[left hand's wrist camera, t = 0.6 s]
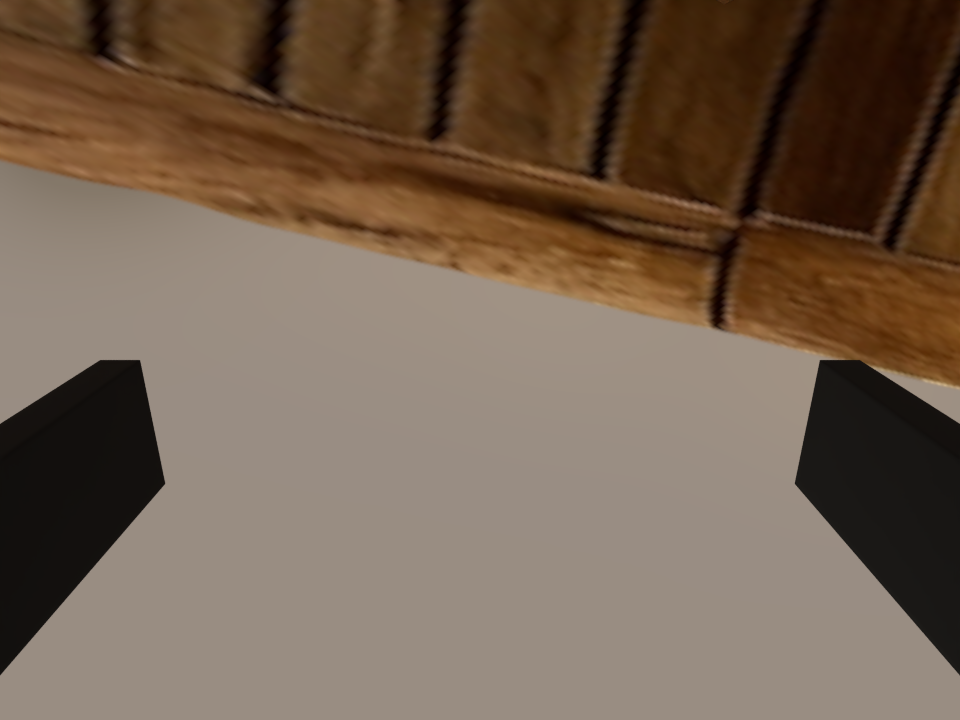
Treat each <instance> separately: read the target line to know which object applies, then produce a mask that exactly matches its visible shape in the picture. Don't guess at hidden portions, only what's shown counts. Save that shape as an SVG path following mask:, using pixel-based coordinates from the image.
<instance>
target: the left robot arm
mask: <svg viewBox="0 0 960 720" xmlns="http://www.w3.org/2000/svg"><path fill="white" fill-rule="evenodd" d="M164 485H165V480H164V476H163V470H162V466H161V461H160V456H159V451H158V446H157V441H156V436H155V431H154V426H153V422H152V417H151V412H150V407H149V402H148V397H147V392H146V387H145V382H144V377H143V372H142V368H141V363H140V360H100V361H98V362H97V363H95V364H94V365H92V366H90V367H89V368H87V369H86V370H84V371H83V372H81V373H79V374H78V375H76V376H75V377H73V378H72V379H70V380H68V381H67V382H65V383H64V384H62V385H61V386H59V387H57V388H56V389H54V390H53V391H51V392H50V393H48V394H46V395H45V396H43V397H42V398H40V399H39V400H37V401H35V402H34V403H32V404H31V405H29V406H28V407H26V408H24V409H23V410H21V411H20V412H18V413H17V414H15V415H13V416H12V417H10V418H9V419H7V420H6V421H4V422H2V423H1V424H0V675H1V674H2V673H3V671H4V670H5V669H6V668H7V667H8V666H9V664H10V663H11V662H12V661H13V660H14V659H15V657H16V656H17V655H18V654H19V653H20V652H21V651H22V649H23V648H24V647H25V646H26V645H27V644H28V642H29V641H30V640H31V639H32V638H33V637H34V635H35V634H36V633H37V632H38V631H39V630H40V628H41V627H42V626H43V625H44V624H45V623H46V621H47V620H48V619H49V618H50V617H51V616H52V615H53V613H54V612H55V611H56V610H57V609H58V608H59V606H60V605H61V604H62V603H63V602H64V601H65V599H66V598H67V597H68V596H69V595H70V594H71V592H72V591H73V590H74V589H75V588H76V587H77V585H78V584H79V583H80V582H81V581H82V580H83V578H84V577H85V576H86V575H87V574H88V573H89V572H90V570H91V569H92V568H93V567H94V566H95V565H96V563H97V562H98V561H99V560H100V559H101V558H102V556H103V555H104V554H105V553H106V552H107V551H108V550H109V548H110V547H111V546H112V545H113V544H114V543H115V541H116V540H117V539H118V538H119V537H120V536H121V534H122V533H123V532H124V531H125V530H126V529H127V528H128V526H129V525H130V524H131V523H132V522H133V520H134V519H135V518H136V517H137V516H138V515H139V514H140V512H141V511H142V510H143V509H144V508H145V507H146V505H147V504H148V503H149V502H150V501H151V500H152V498H153V497H154V496H155V495H156V494H157V493H158V491H159V490H160V489H161V488H162V487H163V486H164ZM795 485H796V486H797V487H798V488H799V489H800V490H801V492H802V493H803V494H804V495H805V496H806V497H807V498H808V500H809V501H810V502H811V503H812V504H813V505H814V507H815V508H816V509H817V510H818V511H819V512H820V514H821V515H822V516H823V517H824V518H825V519H826V521H827V522H828V523H829V524H830V525H831V526H832V527H833V529H834V530H835V531H836V532H837V533H838V534H839V536H840V537H841V538H842V539H843V540H844V541H845V543H846V544H847V545H848V546H849V547H850V548H851V549H852V551H853V552H854V553H855V554H856V555H857V556H858V558H859V559H860V560H861V561H862V562H863V563H864V565H865V566H866V567H867V568H868V569H869V570H870V572H871V573H872V574H873V575H874V576H875V577H876V579H877V580H878V581H879V582H880V583H881V584H882V586H883V587H884V588H885V589H886V590H887V591H888V592H889V594H890V595H891V596H892V597H893V598H894V599H895V601H896V602H897V603H898V604H899V605H900V606H901V608H902V609H903V610H904V611H905V612H906V613H907V614H908V616H909V617H910V618H911V619H912V620H913V622H914V623H915V624H916V625H917V626H918V627H919V628H920V630H921V631H922V632H923V633H924V634H925V635H926V637H927V638H928V639H929V640H930V641H931V642H932V644H933V645H934V646H935V647H936V648H937V649H938V650H939V652H940V653H941V654H942V655H943V656H944V657H945V659H946V660H947V661H948V662H949V663H950V664H951V666H952V667H953V668H954V669H955V670H956V671H957V673H958V674H959V675H960V424H959V423H958V422H956V421H954V420H953V419H951V418H950V417H948V416H947V415H945V414H943V413H942V412H940V411H939V410H937V409H936V408H934V407H932V406H931V405H929V404H928V403H926V402H925V401H923V400H921V399H920V398H918V397H917V396H915V395H914V394H912V393H910V392H909V391H907V390H906V389H904V388H903V387H901V386H899V385H898V384H896V383H895V382H893V381H892V380H890V379H888V378H887V377H885V376H884V375H882V374H881V373H879V372H878V371H876V370H874V369H873V368H871V367H870V366H868V365H867V364H865V363H863V362H862V361H860V360H820V363H819V368H818V373H817V377H816V382H815V387H814V392H813V397H812V402H811V407H810V412H809V417H808V422H807V426H806V431H805V436H804V441H803V446H802V451H801V456H800V461H799V466H798V471H797V475H796V480H795Z"/></svg>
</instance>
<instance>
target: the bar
mask: <svg viewBox="0 0 960 720" xmlns="http://www.w3.org/2000/svg"><path fill="white" fill-rule="evenodd" d="M717 1H719V2H721V3H723V4H726V3H728V2H730V1H732V0H717Z"/></svg>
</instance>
